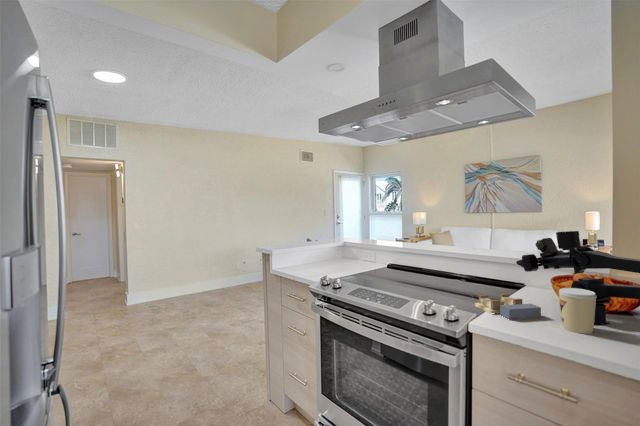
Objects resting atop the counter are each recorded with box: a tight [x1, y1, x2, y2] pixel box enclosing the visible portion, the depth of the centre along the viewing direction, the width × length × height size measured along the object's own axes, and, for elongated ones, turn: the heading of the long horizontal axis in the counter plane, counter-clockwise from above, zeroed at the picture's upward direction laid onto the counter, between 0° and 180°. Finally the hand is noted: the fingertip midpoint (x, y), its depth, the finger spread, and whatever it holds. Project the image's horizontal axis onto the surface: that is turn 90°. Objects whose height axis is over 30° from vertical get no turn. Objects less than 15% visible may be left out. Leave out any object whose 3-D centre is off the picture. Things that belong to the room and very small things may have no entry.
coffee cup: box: [558, 287, 597, 335], centre depth 101 cm, size 9×9×12 cm
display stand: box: [474, 293, 523, 314], centre depth 122 cm, size 10×14×4 cm
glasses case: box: [499, 303, 542, 321], centre depth 113 cm, size 4×12×4 cm, turn 97°
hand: (525, 261), depth 132 cm, fingers open, 9 cm apart
